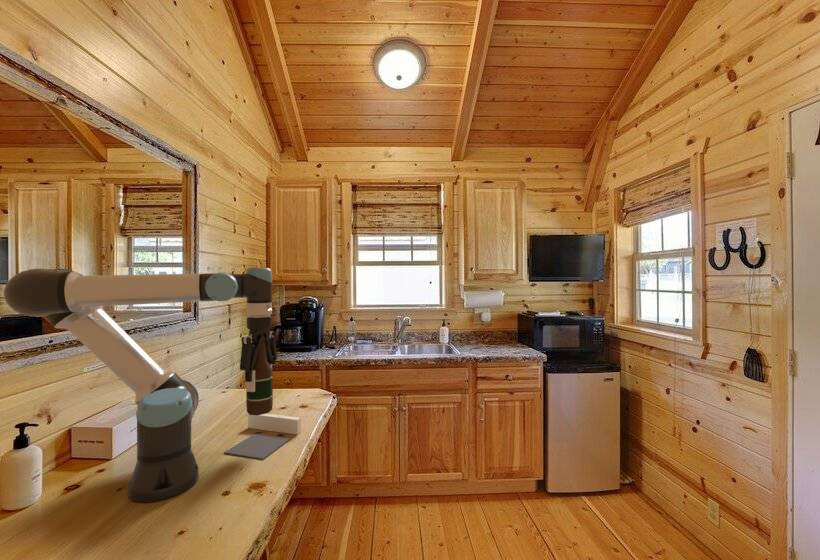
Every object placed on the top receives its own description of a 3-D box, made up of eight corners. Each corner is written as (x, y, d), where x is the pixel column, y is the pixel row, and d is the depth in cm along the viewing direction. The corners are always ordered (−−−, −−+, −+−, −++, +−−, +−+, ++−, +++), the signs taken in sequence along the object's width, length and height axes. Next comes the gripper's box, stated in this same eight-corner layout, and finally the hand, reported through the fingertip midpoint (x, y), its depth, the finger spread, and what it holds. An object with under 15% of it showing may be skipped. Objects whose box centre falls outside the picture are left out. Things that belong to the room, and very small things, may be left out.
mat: (263, 459, 107) (263, 458, 107) (224, 453, 110) (224, 452, 110) (290, 439, 120) (290, 438, 120) (254, 434, 124) (254, 433, 124)
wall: (297, 434, 124) (297, 419, 124) (248, 427, 129) (248, 413, 129) (300, 432, 126) (300, 417, 126) (251, 425, 131) (251, 412, 131)
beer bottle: (240, 413, 113) (240, 336, 113) (261, 405, 120) (261, 333, 120) (257, 417, 110) (257, 338, 110) (277, 409, 117) (278, 335, 117)
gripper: (247, 319, 104) (247, 398, 104) (288, 313, 124) (288, 379, 124) (225, 319, 106) (225, 396, 106) (269, 312, 126) (269, 378, 126)
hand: (259, 387), depth 115 cm, fingers closed on beer bottle, 8 cm apart
